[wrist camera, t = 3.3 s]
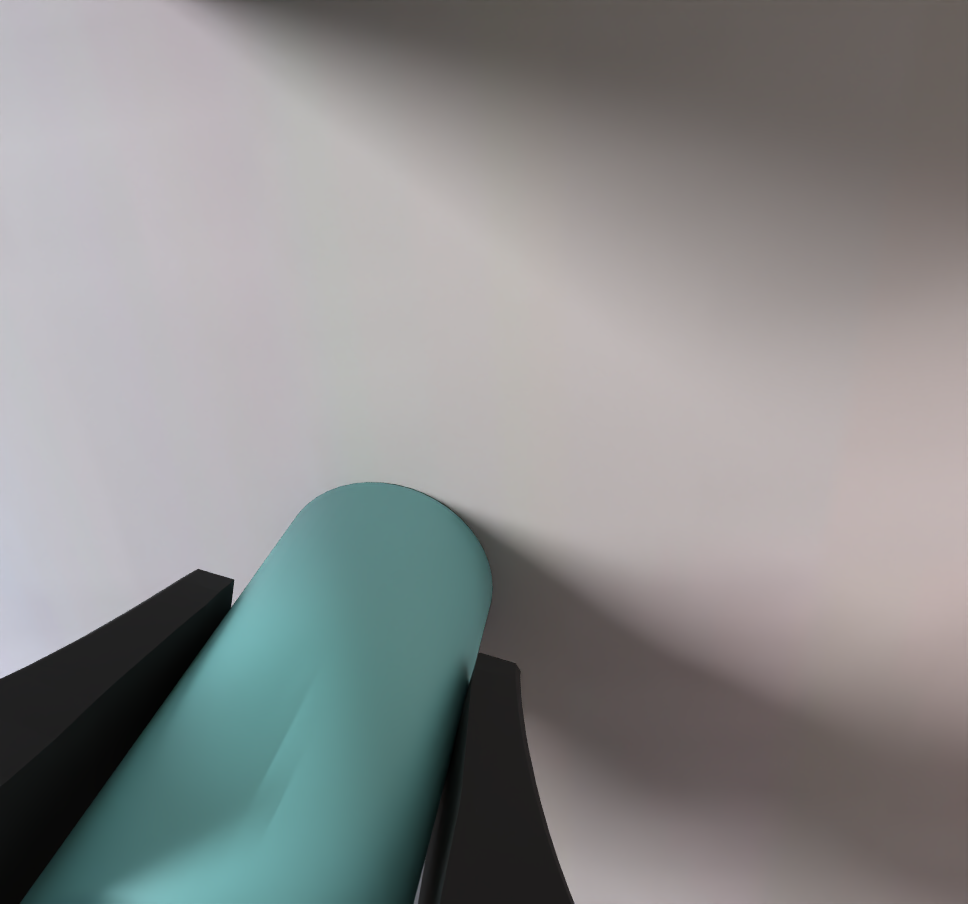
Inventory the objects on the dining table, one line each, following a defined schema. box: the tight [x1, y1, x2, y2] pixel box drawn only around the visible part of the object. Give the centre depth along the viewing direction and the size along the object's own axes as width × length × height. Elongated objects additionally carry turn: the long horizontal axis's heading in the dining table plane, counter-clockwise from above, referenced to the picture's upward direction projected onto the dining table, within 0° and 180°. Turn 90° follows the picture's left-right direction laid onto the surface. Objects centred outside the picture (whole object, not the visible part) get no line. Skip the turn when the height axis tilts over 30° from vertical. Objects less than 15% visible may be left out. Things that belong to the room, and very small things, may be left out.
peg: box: [20, 482, 493, 904], centre depth 12 cm, size 4×4×8 cm
